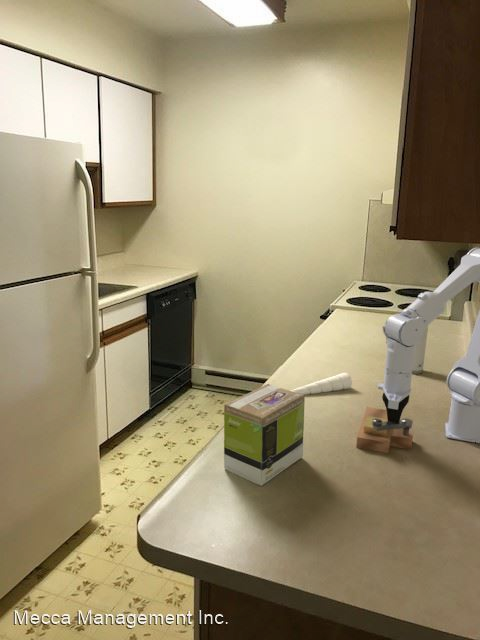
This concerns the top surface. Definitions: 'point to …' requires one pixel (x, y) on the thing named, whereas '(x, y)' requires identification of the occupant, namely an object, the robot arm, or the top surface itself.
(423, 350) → the travel mug
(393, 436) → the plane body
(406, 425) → the lever
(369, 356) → the top surface
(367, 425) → the wooden block with bolt
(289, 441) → the tea box
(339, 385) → the unicorn horn
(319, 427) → the top surface
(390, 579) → the top surface
